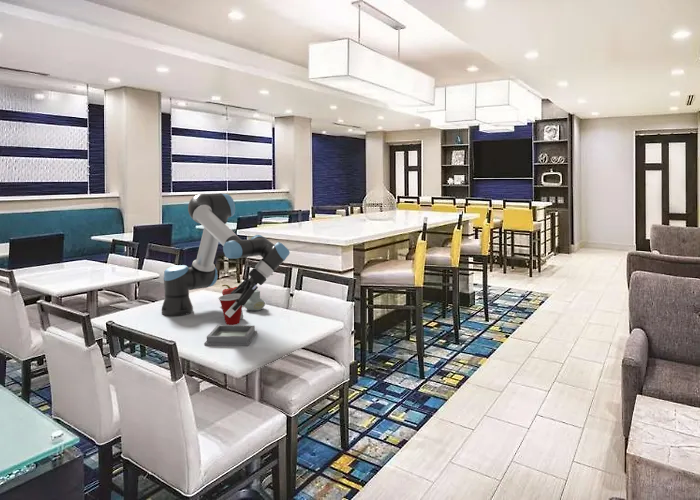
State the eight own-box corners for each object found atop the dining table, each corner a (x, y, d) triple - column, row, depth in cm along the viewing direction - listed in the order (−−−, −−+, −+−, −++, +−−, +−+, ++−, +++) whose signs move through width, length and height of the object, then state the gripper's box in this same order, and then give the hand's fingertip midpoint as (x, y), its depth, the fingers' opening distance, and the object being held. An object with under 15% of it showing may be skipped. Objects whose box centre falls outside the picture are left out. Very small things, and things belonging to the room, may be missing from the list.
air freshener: (258, 306, 266) (258, 288, 265) (267, 309, 261) (267, 290, 259) (241, 310, 259) (240, 291, 257) (250, 313, 253) (250, 293, 252)
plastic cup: (221, 319, 215) (220, 292, 213) (246, 319, 216) (245, 292, 214) (216, 327, 204) (215, 298, 203) (243, 326, 205) (242, 298, 203)
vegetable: (217, 304, 270) (217, 286, 269) (227, 299, 280) (226, 282, 279) (235, 305, 267) (235, 287, 266) (244, 301, 277) (244, 283, 276)
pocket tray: (216, 332, 220) (216, 324, 220) (256, 332, 220) (256, 325, 220) (204, 345, 202) (204, 337, 202) (248, 346, 202) (248, 337, 202)
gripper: (274, 283, 204) (237, 324, 199) (259, 274, 224) (225, 311, 220) (261, 271, 201) (223, 313, 196) (248, 263, 221) (213, 301, 217)
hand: (224, 312), depth 208 cm, fingers closed on plastic cup, 10 cm apart
